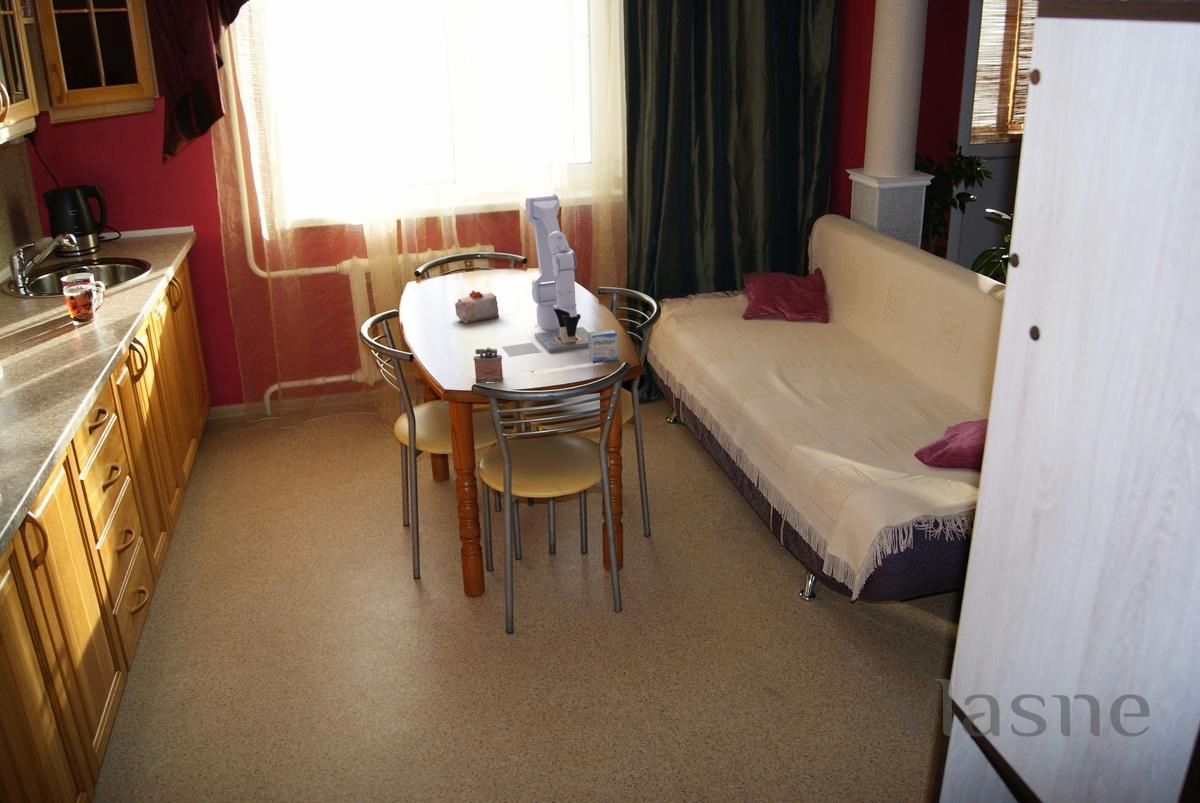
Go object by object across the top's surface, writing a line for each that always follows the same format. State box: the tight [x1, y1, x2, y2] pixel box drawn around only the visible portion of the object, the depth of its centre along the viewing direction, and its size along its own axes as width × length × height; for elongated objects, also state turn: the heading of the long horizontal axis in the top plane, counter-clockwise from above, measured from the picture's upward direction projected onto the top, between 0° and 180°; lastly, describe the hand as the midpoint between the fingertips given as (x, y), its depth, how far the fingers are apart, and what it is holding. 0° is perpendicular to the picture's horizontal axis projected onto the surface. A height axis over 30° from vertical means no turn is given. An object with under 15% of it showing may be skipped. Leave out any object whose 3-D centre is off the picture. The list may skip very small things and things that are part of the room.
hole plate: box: [534, 326, 589, 354], centre depth 318 cm, size 16×16×3 cm
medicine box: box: [588, 329, 618, 364], centre depth 303 cm, size 8×4×9 cm, turn 106°
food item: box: [454, 290, 500, 325], centre depth 346 cm, size 14×8×10 cm, turn 119°
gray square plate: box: [501, 342, 542, 357], centre depth 313 cm, size 10×10×1 cm
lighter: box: [473, 347, 505, 385], centre depth 289 cm, size 8×3×10 cm, turn 92°
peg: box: [558, 327, 576, 343], centre depth 316 cm, size 4×4×6 cm
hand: (567, 332), depth 315 cm, fingers open, 7 cm apart
